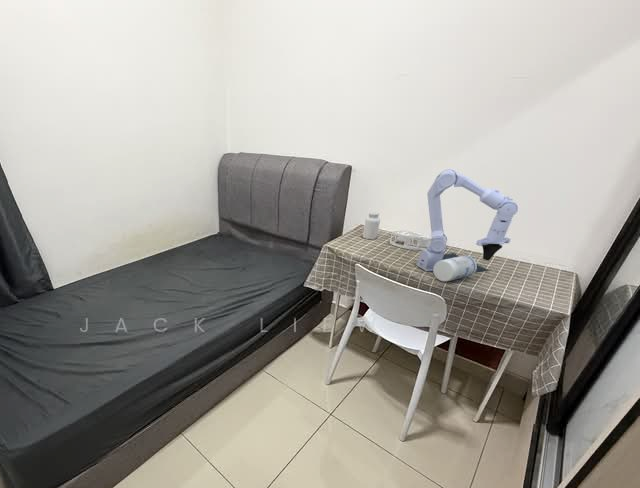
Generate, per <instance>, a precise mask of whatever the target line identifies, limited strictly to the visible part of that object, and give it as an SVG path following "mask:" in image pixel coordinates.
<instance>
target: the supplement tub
mask: <svg viewBox="0 0 640 488" xmlns="http://www.w3.org/2000/svg"><path fill="white" fill-rule="evenodd" d="M458 256H459V257H454V258H450V259H445V260H441V261H439V262H437V263H436V264H435V265H434V269H433V271H432V272H433V275H434V277H435V278H436V279H437V280H438V281H441V282H450V281H455V280H458V279H462V278H467V277H471V276H472V275H474V274H475V273H476V272H477V271H476V269H477V265H478V264H477V261H476V260H475V259H474V257H472V256H470V255H466V254H465V255H458ZM475 271H476V272H475Z"/></svg>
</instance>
